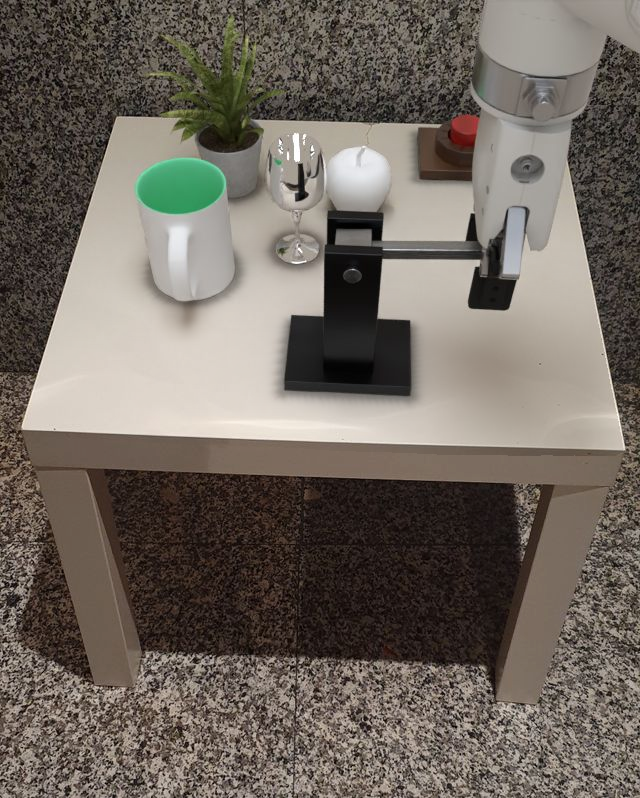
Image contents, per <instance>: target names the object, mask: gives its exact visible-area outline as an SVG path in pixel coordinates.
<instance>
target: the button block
mask: <svg viewBox="0 0 640 798" xmlns="http://www.w3.org/2000/svg"><path fill="white" fill-rule="evenodd" d="M454 119H455V118H453V119H450V120H449V119H448V120H446V121H444V122H443V123H442V124H440V126H439V127H423V126H419V127H417V150H418V151H417V152H418V170H419V171H418V172H419V174H418V175H419V179H420V180H446V181H447V180H449V181H472V164H473V154H474V147H475V146H474V147H464V146H460V145H457V144H455V143H453V142H452V141H451V139H450V132H451V125H452V121H453V120H454Z"/></svg>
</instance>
